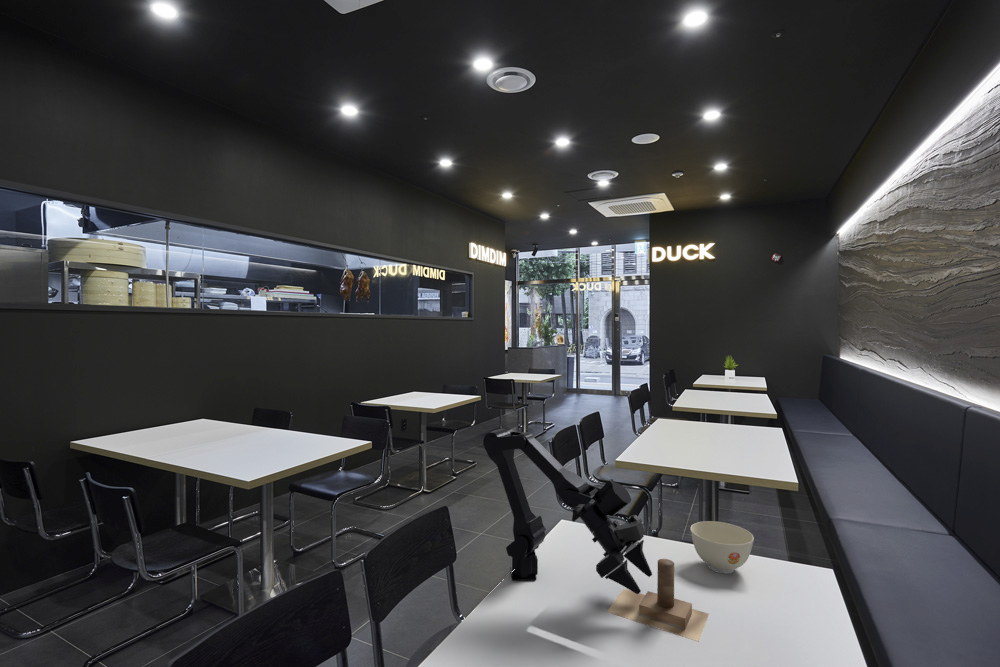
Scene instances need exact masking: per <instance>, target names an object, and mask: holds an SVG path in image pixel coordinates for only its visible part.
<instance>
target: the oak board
mask: <svg viewBox="0 0 1000 667" xmlns="http://www.w3.org/2000/svg"><path fill="white" fill-rule="evenodd" d="M645 595H646V594H643V593H641V592H640V593H639V594H636V593H634V592H633V591H631V590H629V589H627V588H623V589H622V590H621V592H620V593H619V594H618V596H616V598H615V600H614V602H612V604H611V605H610V606H609V608H608V610H606V613H609V614H612V615H615V616H618V617H621V618H625V619H627V620H628V619H629V620H631V621H634V622H637V623H640V624H644V625H646V626H649V627H653V628H656V629H659V630H660V631H661V630H662V631H665V632H667V633H670V634H674V635H678V636H680V637H683V638H685V639H689V640H693V641H695V642H700V640H701V637H702V634H703V632H704V629H705V626H706V623H707V621H708V618H709V616H710V613H708V612H705V611H702V610H698V609H694V608H692V615H691V618H690V620H689V622H688V625H687V627H686V629H685V630H684V629H680V628H677V627H674V626H671V625H667V624H664V623H661V622H658V621H655V620H651V619H648V618H645V617H642V616H639V604H640V603H641V601H642V599H643V598H644V596H645Z"/></svg>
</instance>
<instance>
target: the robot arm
mask: <svg viewBox="0 0 1000 667" xmlns="http://www.w3.org/2000/svg"><path fill="white" fill-rule="evenodd" d="M482 445H483V448H484V451H485V453H486V455H487V456H488V458H489V460H491V461H492V462H493V463H494V464H495V465H496V467H497V468H496V469H497V470H498V473H499V477H500V479H501V482H502V485H503V486H502V487H503V489H504V492H505V495H506V498H507V500H508V504H509V507H510V510H511V513H512V516H513V524H512V533H513V541H511V542H510V543H509V545H507V546H506V548H505V551H506V553H507V556H509V557H510V559H511V560H510V561H511V562H510V569H509V571H510V572H511V571H513V570H514V569H515V570H514V571H513V572H512V574H511V573H510V576H511V577H510V578H511V581H517V582H518V581H537V575H538V572H539V571H538V569H539V568H538V567H539V564H538V562H539V560H538V556H537V554H536V550H538V548H539V547H540V545H541V544H543V542H544V541H545V538H546V530H547V529H546V527H545V525H544V523H543V518H542V515H540V514H539V515H537V516H536V515H535V514H534V513H533V512H532V510H531V508H530V504H529V502H528V499H527V496H526V491H525V490H524V485H523V484H522V482H521V481H522V480H521V478H520V475H519V472H518V469H517V466H516V463H515V458H514V457H515V450H520V451H521V452H522V453H524V454H525V456H527V458H528V459H529V460H530V461H531V462H532V463H533V464H534V465H535V467H537V468H538V469H539V470H540V471H541V473H542V474H544V475H545V477H546V478H547V479H548V480H550V482H551V484H552V485H553V488H554V491H555V494H557V496H558V498H559V499H560V500H561V502H562V503H563V505H565V506H566V507H568V508H573V509H572V517H571V521H572V522H573V523H575V521H578V519H580V520H581V521H582V522H583V523H584V525H585V526H586V528H587V529H588V530H589V532H590V533H591V534H592V536H593V538H591V540H592V541H593V543H594V544H595V543H596V542H597V543H598V544H599V545H600V547H601V548H602V549H603V551H604V553H603V554H602V555H603V558H602V559H600V560H599V561H598V563H597V564H596V565H595V572H596V573H597V574H598V576H599V577H600V578H601V579H603V578H605V579H606V580H608V579H609V580H611V581H612V582H615V583H616V584H619V585H620V586H622V587H625V589H626V590H630V591H633V592H634V593H636V594H639V593H640V594H641V592H642V590H641V589H640V587H639V586H638V584H637V582H636V580H635V579H634V577H633V575H632V574H631V573H630V571H629V569H628V562H630V563H631V564H632V565H633V566H635V567H636V568H637V569H638V570H639V571H641V573H643V574H644V575H645V576H647V577H648V578H650V577H652V576H653V573H652V570H651V567H650V565H649V563H648V560H647V558H646V556H645V553H644V551H643V548H644V542H645V540H644V539H643V538H644V537H645V535H646V534H647V533H646V530H645V528H644V526H645V522H644V521H642V519H641V518H640V517H639V516H638V515H637V514H633V515H630V516H629V517H628V519H627V520H628V521H626V522H624V523H622V524H620V523H619V521H617V520H612V519H611V518H610V517H609V516H611V517H614V516H616V514H618V513H619V512H621V511H622V510H623V509H625V508H626V506H628V505H630V503H631V502H632V498H631V495H630V493H629V491H628V490H627V488H626V487H624V486H623V485H621V484H620V483H619V482H615V480H614V479H613V478H611V479H609V480H608V481H607V482H605V483H604V485H603V486H602V487H597V486H595V485H592V484H589V483H588V482H587V481H586V480H585V479H584V478H583V477H581V476H580V475H578V474H576V473H575V472H572V471H570V470H568V469H567V468H565V467H564V466H563V465H562V464H561V463H560V462H559V461H558V460H557V459H556V458H555V457H554V456H553V455H552V454H551V453H550V452H549V451H548V450H547V449H546V448H545V447H544V446H543V445H542V444H541V443H540V442H539V441H538V439H536V437H535V436H534V434H533V433H532V432H528V431H525V432H522V431H510V430H507V429H505V428H500V429H496V430H493V431H489V432H487V433H486V434H485V435H484V437H483V439H482ZM592 500H593V501H594V502H593V503H590V502H591V501H592ZM580 505H582V506H581V507H578V506H580ZM625 559H626V560H625Z"/></svg>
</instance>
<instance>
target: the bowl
mask: <svg viewBox="0 0 1000 667" xmlns="http://www.w3.org/2000/svg"><path fill="white" fill-rule="evenodd" d="M690 535H691V539H692V543H693V546H694V549H695V551H696V554H697V555H698V556H699V558H700V559H701V560H702V561H703V562H704V563H705V564H707V566H708V568H709V569H710V568H711V569H712V571H713V570H714V571H713V572H715V571H716V573H718V572H719V574H723V573H724V575H725V574H726V575H727V574H732V573H734V571H735V569H736V570H737V569H738V568H740V567H742V566H744V564H746V562H747V561H748V559H749V557H750V554H751V551H752V548H753V545H754V541H755V540H754V539H755V538H754V534H753V533H751V532H750V531H749V530H748V529H745V528H743V527H741V526H739V525H735V524H732V523H728V522H723V521H716V520H714V521H711V520H704V521H703V520H702V521H698V522H695V523H693V524H691V526H690ZM711 569H710V570H711Z"/></svg>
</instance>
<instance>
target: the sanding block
mask: <svg viewBox="0 0 1000 667" xmlns="http://www.w3.org/2000/svg"><path fill="white" fill-rule="evenodd" d="M656 585H657V593H656V592H654V591H649V590H647V592H646V593H645V594H644V595H645V596H644V598H643V599H642V601H641V603H640V604H639V616H642V617H645V618H648V619H651V620H655V621H658V622H661V623H664V624H667V625H671V626H674V627H677V628H680V629H684V630H685V629H686V627H687V625H688V622H689V620H690V618H691V615H692V609H693V603H692V602H688V601H685V600H680V599H677V598H675V562H674V561H673V560H671V559H668V558H660V559H658V560H657V584H656Z"/></svg>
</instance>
